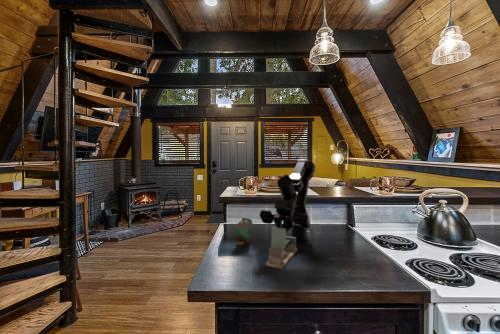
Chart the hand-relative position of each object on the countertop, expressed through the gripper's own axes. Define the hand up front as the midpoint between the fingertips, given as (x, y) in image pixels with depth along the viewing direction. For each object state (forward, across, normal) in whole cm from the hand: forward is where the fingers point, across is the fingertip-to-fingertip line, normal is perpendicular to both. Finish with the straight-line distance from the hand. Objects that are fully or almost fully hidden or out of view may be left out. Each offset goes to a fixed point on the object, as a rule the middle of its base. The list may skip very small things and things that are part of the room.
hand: (279, 238), depth 99 cm
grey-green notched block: (+5, 0, +4) cm, 6 cm away
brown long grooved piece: (+3, 0, +9) cm, 10 cm away
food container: (-4, -20, +17) cm, 26 cm away
